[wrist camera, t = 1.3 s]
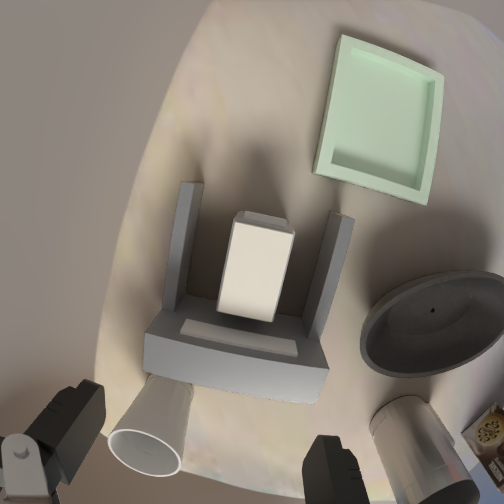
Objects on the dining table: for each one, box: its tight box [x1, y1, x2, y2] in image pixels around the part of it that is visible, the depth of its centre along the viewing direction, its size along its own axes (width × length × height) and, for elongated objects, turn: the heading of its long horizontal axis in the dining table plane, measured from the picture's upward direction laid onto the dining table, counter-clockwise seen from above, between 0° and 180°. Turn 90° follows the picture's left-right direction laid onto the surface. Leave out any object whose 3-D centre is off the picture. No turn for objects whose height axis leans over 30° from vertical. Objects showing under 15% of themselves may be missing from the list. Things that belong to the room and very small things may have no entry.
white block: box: [216, 210, 295, 322], centre depth 28 cm, size 5×9×8 cm, turn 168°
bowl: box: [360, 271, 504, 378], centre depth 30 cm, size 12×22×6 cm, turn 95°
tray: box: [312, 34, 444, 206], centre depth 27 cm, size 12×15×2 cm
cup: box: [108, 374, 193, 477], centre depth 30 cm, size 8×8×12 cm
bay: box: [143, 182, 355, 404], centre depth 28 cm, size 15×16×10 cm
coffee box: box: [461, 402, 504, 494], centre depth 30 cm, size 9×6×16 cm
